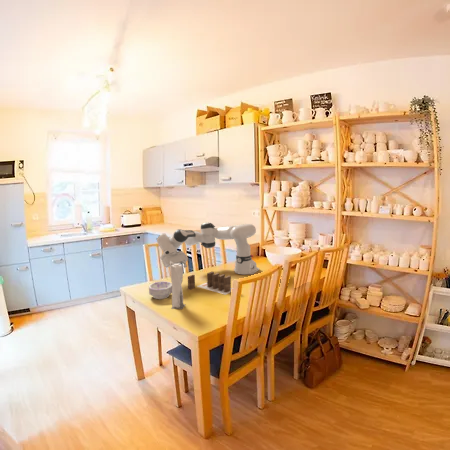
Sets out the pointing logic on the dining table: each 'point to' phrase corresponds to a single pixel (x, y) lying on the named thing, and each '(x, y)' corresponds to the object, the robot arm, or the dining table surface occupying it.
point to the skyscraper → (177, 286)
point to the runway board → (213, 289)
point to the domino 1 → (191, 282)
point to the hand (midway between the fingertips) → (181, 268)
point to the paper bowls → (160, 289)
